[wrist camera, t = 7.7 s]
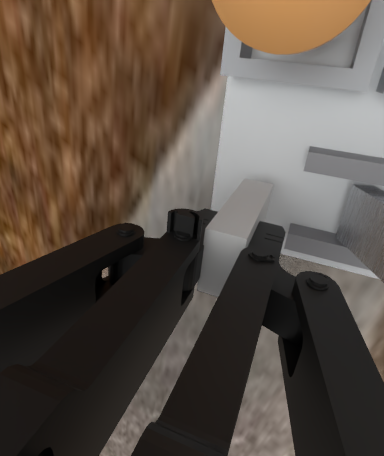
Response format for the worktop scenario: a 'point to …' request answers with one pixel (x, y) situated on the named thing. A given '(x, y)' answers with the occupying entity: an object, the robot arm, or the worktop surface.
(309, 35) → the plunger orange
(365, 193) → the lever
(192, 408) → the robot arm
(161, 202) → the worktop surface
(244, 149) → the panel
